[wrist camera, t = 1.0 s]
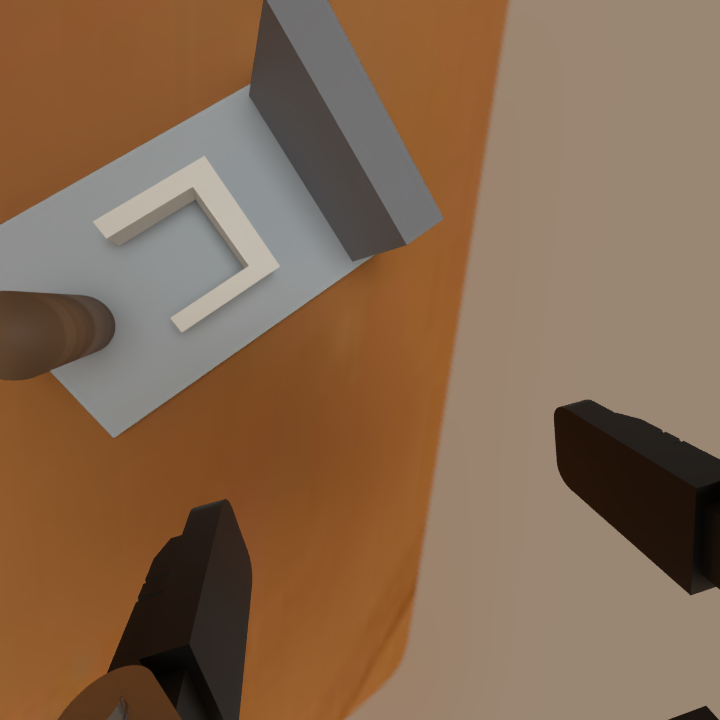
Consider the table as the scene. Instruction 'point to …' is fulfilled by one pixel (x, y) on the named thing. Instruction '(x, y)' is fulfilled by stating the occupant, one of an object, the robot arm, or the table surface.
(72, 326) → the dowel
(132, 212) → the cradle
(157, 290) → the board with wall
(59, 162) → the table surface
